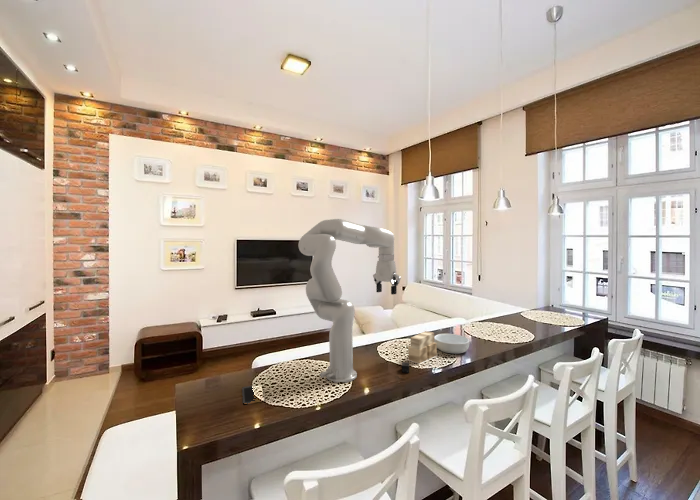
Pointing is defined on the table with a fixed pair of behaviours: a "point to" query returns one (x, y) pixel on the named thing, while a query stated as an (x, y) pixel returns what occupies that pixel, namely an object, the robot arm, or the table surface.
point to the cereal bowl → (451, 343)
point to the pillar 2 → (432, 350)
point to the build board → (424, 361)
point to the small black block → (405, 367)
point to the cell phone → (247, 394)
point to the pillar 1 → (417, 354)
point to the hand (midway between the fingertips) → (386, 293)
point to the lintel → (422, 340)
